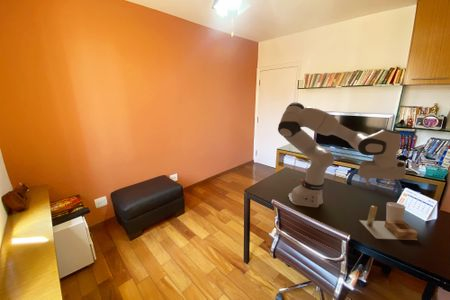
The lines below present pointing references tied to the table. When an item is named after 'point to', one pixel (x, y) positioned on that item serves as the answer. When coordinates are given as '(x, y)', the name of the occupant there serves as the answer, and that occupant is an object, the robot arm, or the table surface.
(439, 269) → the table surface
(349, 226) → the table surface
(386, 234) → the mat
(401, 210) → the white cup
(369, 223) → the wooden peg
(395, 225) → the square wooden tray
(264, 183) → the table surface
